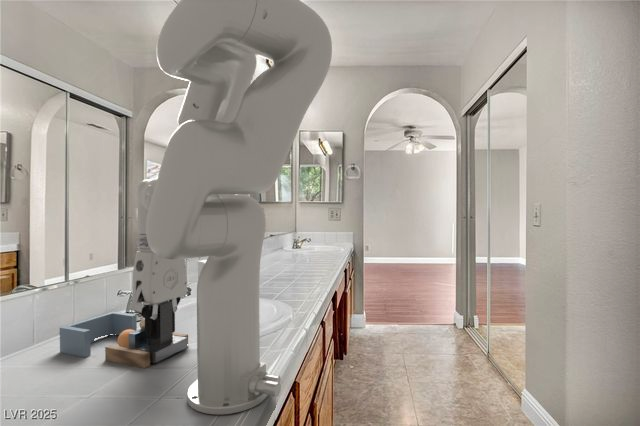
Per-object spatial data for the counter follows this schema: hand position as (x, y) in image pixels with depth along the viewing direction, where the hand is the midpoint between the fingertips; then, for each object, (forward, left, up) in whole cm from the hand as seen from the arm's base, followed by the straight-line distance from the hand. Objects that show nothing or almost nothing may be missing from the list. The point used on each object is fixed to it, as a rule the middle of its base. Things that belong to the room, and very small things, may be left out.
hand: (160, 333), depth 74 cm
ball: (+9, 0, -2) cm, 9 cm away
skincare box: (+8, -27, -4) cm, 28 cm away
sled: (+1, 0, -4) cm, 4 cm away
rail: (+3, 0, -4) cm, 5 cm away
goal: (+16, 0, -4) cm, 17 cm away
